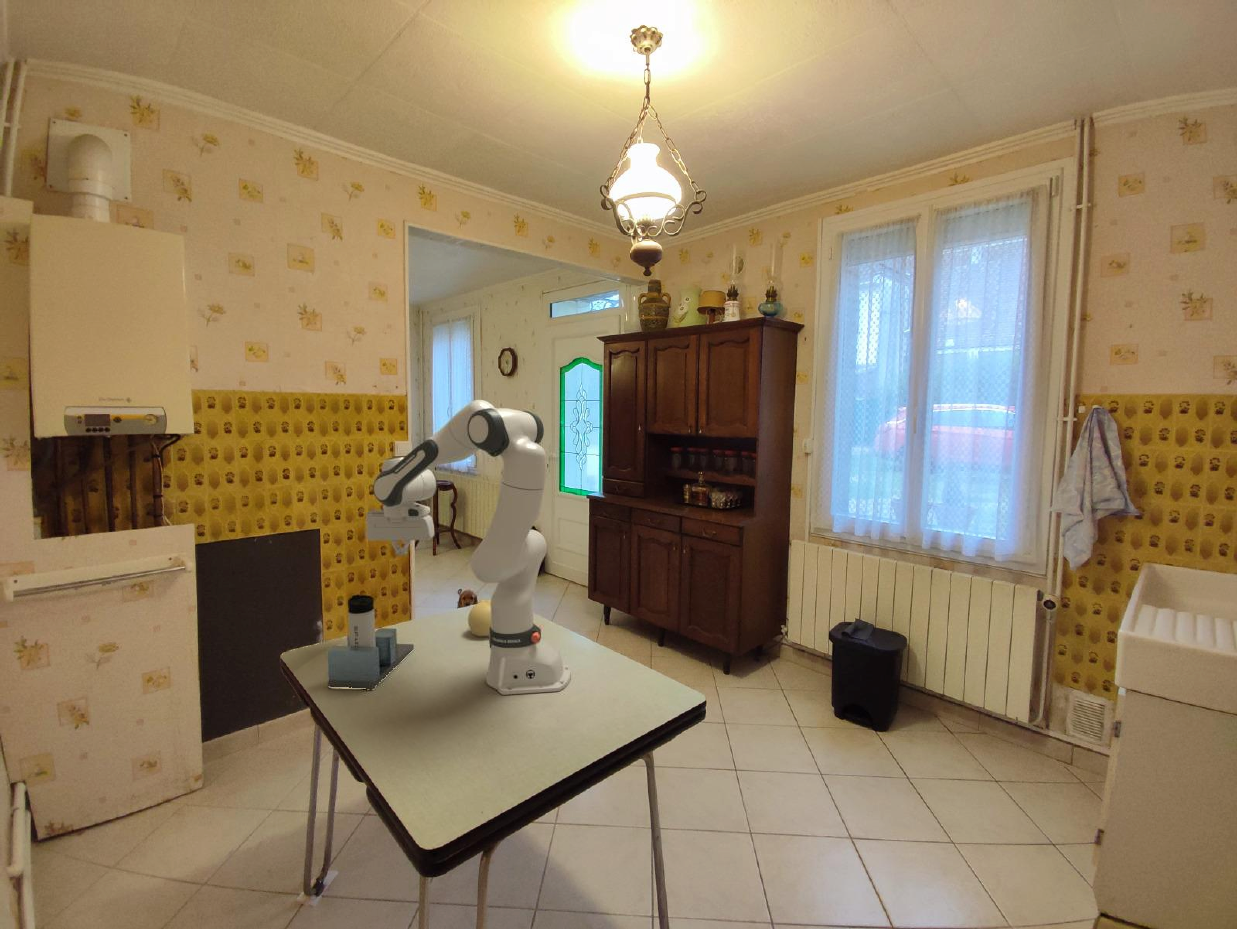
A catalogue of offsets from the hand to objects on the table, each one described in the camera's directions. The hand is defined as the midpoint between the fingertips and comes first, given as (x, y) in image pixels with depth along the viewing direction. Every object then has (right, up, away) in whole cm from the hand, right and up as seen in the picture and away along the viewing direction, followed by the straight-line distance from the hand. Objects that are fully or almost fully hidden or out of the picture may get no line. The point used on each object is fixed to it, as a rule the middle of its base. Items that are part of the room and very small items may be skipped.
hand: (401, 554), depth 171 cm
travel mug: (-2, -28, -22) cm, 35 cm away
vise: (-1, -29, -16) cm, 33 cm away
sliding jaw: (-1, -27, -13) cm, 30 cm away
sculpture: (+24, -27, +9) cm, 37 cm away
